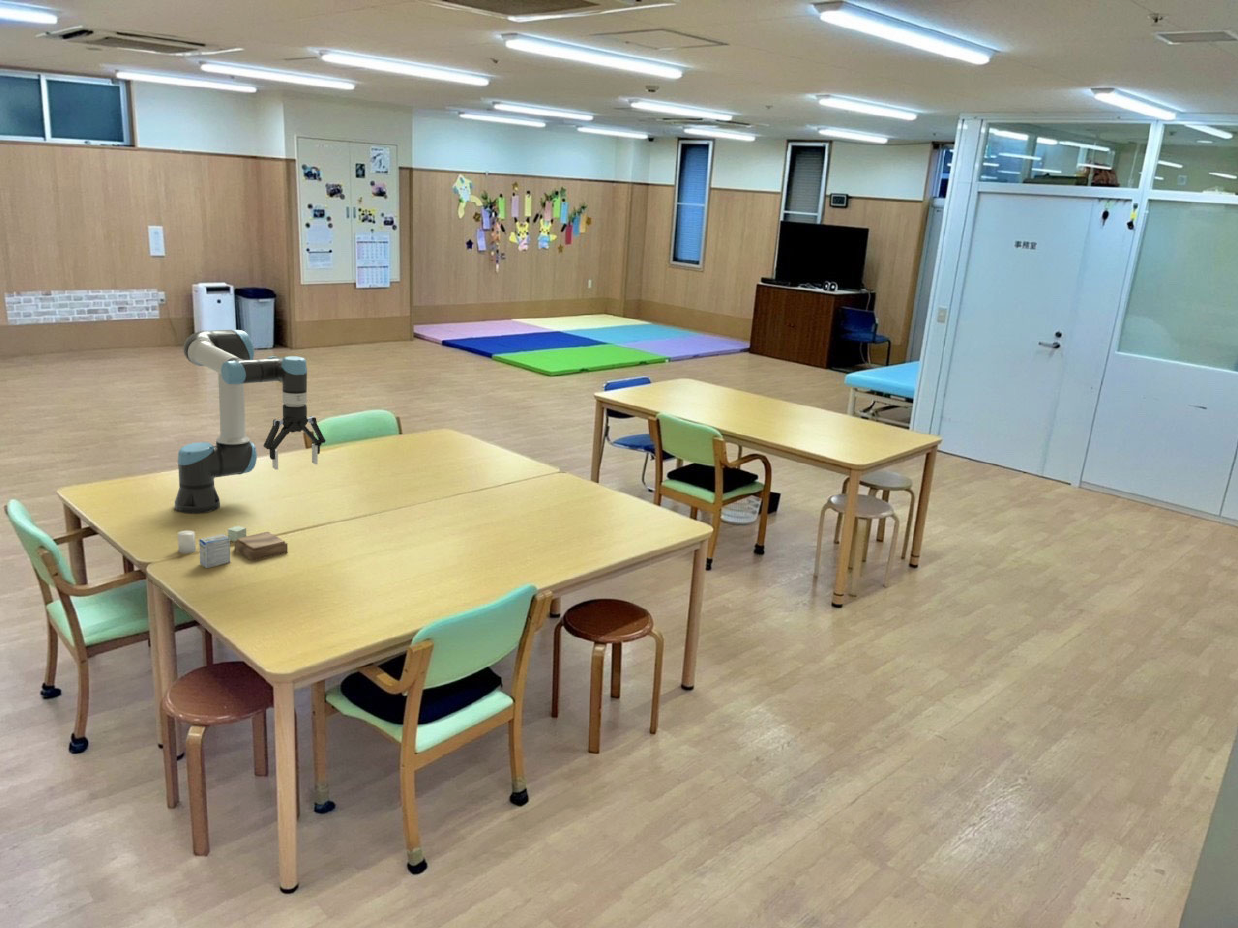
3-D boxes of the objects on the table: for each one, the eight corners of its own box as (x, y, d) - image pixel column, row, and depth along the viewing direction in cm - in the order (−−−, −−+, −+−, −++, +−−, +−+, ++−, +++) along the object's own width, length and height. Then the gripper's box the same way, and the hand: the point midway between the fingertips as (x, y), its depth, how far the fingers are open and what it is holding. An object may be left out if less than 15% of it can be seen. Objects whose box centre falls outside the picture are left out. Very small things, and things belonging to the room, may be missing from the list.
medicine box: (223, 558, 291) (222, 533, 289) (230, 562, 289) (230, 537, 286) (199, 564, 285) (198, 538, 283) (206, 568, 283) (205, 543, 280)
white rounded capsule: (175, 549, 294) (175, 532, 293) (191, 546, 298) (190, 529, 296) (182, 554, 291) (182, 537, 290) (198, 551, 295) (197, 533, 293)
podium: (234, 549, 299) (234, 538, 298) (268, 541, 308) (268, 530, 307) (253, 560, 292) (253, 549, 290) (287, 552, 300) (287, 541, 299)
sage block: (228, 539, 306) (227, 528, 305) (237, 536, 310) (237, 525, 309) (236, 542, 305) (236, 531, 304) (246, 539, 308) (246, 528, 307)
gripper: (261, 409, 286) (262, 473, 292) (335, 403, 303) (335, 464, 309) (252, 404, 292) (253, 467, 297) (325, 398, 308) (325, 458, 314)
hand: (295, 466), depth 303 cm, fingers open, 13 cm apart
